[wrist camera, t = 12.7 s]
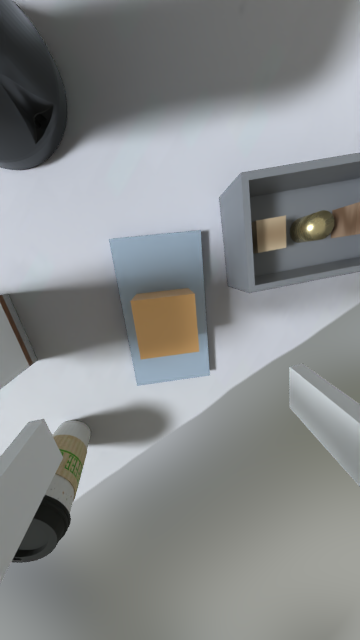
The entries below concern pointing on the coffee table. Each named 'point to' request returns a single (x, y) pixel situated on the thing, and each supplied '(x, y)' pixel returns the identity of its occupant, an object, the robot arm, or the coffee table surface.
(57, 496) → the coffee cup
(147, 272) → the lid
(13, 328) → the tall white vase
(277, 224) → the pale wood block
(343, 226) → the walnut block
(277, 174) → the tub
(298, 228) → the brass slug
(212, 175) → the coffee table surface
